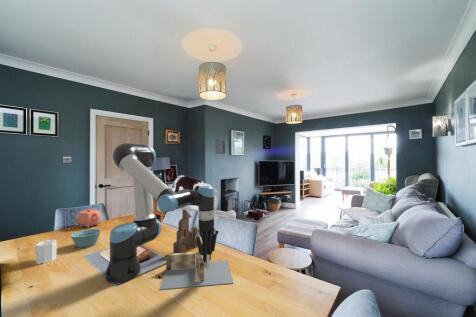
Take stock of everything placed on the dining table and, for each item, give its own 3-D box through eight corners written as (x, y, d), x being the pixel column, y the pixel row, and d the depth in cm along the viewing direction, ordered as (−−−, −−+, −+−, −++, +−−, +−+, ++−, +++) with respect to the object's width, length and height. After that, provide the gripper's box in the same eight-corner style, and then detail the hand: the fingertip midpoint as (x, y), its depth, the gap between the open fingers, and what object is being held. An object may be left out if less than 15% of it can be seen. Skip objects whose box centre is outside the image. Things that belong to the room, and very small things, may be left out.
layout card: (159, 290, 91) (159, 289, 91) (168, 264, 112) (168, 264, 112) (233, 283, 96) (233, 282, 96) (227, 260, 117) (227, 260, 117)
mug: (60, 257, 120) (60, 240, 120) (42, 265, 111) (42, 246, 112) (44, 255, 123) (44, 238, 123) (26, 262, 115) (26, 244, 115)
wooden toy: (181, 256, 123) (181, 213, 123) (173, 253, 126) (173, 211, 126) (198, 246, 137) (198, 207, 137) (190, 244, 140) (190, 206, 140)
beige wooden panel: (165, 270, 106) (165, 255, 106) (166, 268, 109) (166, 253, 109) (200, 268, 109) (200, 253, 109) (200, 266, 111) (200, 251, 111)
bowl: (65, 247, 133) (65, 234, 134) (90, 239, 148) (90, 227, 148) (81, 252, 128) (81, 238, 128) (106, 242, 142) (106, 230, 142)
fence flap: (196, 268, 108) (196, 254, 108) (200, 267, 109) (201, 253, 109) (199, 280, 97) (199, 265, 97) (204, 280, 97) (204, 264, 97)
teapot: (71, 226, 176) (72, 209, 176) (87, 222, 188) (87, 206, 188) (90, 229, 168) (90, 211, 169) (105, 225, 180) (105, 208, 181)
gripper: (199, 223, 95) (199, 275, 95) (221, 217, 103) (222, 265, 103) (190, 219, 100) (191, 269, 100) (212, 214, 109) (213, 260, 109)
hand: (207, 267), depth 102 cm, fingers closed
